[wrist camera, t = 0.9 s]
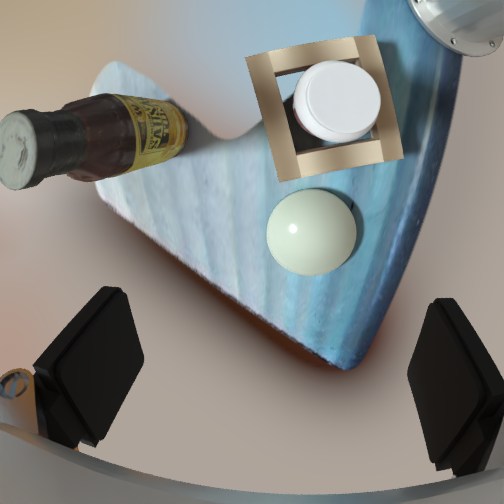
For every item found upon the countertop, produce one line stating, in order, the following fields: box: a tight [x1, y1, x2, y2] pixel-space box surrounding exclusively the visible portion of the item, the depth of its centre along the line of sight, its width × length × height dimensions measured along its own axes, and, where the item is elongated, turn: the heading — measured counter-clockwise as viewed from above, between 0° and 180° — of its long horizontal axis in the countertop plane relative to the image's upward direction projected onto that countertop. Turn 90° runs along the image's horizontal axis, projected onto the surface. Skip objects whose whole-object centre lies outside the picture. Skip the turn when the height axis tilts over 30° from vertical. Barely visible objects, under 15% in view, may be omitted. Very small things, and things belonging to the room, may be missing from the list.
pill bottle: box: [292, 60, 381, 143], centre depth 22 cm, size 6×6×11 cm
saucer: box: [267, 188, 356, 276], centre depth 32 cm, size 9×9×1 cm
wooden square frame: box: [245, 35, 404, 182], centre depth 26 cm, size 12×12×3 cm
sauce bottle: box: [0, 93, 188, 190], centre depth 21 cm, size 7×6×20 cm
